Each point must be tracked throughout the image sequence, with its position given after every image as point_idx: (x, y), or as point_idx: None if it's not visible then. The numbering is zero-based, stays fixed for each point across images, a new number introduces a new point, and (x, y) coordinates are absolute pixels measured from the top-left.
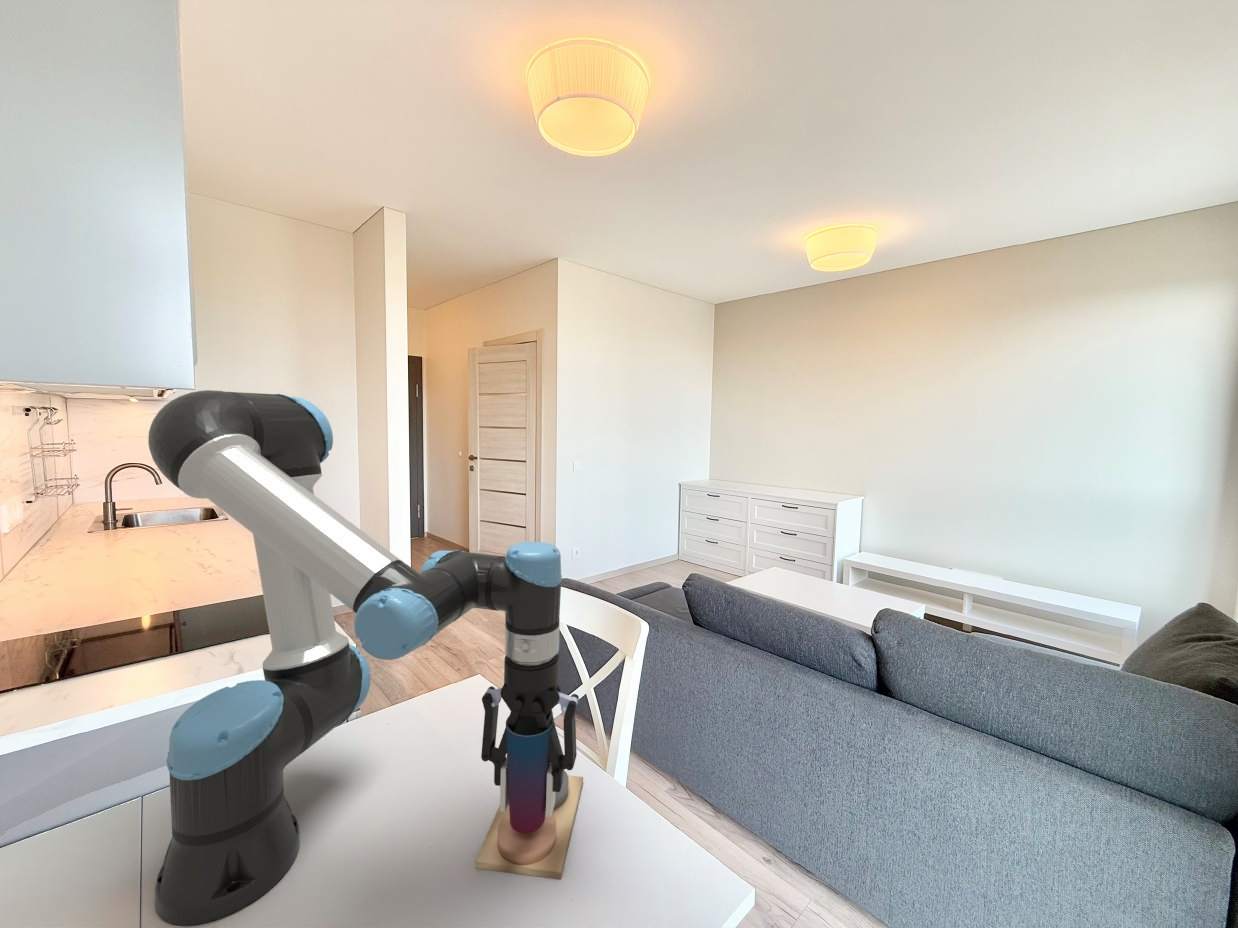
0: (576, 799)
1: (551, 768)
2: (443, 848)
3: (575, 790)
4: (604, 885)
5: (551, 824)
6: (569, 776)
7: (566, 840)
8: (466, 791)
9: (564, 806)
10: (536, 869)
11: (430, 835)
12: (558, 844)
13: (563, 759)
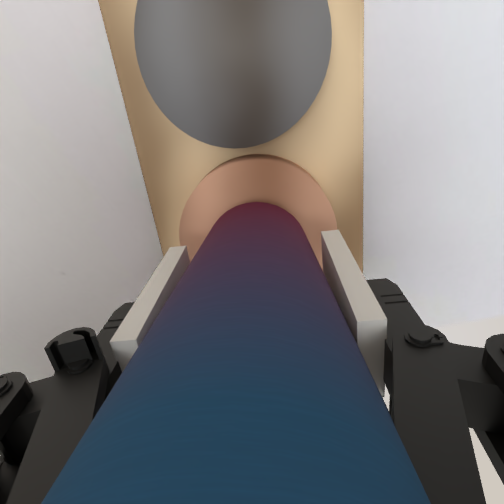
0: (358, 49)
1: (371, 366)
2: (88, 271)
3: (346, 2)
4: (454, 268)
5: (320, 218)
6: None
7: (357, 207)
8: (6, 97)
9: (325, 92)
10: None
11: (38, 250)
12: (339, 222)
13: (467, 415)
